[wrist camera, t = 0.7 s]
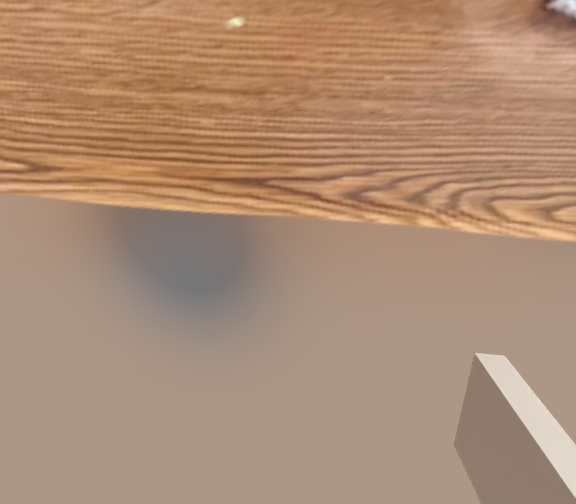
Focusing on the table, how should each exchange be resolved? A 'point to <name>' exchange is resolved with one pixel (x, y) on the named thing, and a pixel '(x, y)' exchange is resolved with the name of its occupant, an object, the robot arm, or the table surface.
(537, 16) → the table surface
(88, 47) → the table surface
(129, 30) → the table surface
